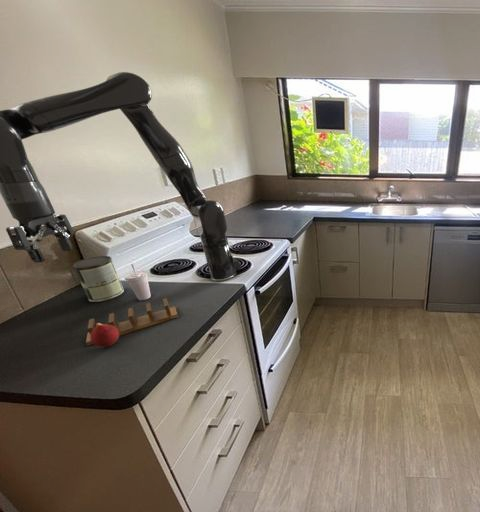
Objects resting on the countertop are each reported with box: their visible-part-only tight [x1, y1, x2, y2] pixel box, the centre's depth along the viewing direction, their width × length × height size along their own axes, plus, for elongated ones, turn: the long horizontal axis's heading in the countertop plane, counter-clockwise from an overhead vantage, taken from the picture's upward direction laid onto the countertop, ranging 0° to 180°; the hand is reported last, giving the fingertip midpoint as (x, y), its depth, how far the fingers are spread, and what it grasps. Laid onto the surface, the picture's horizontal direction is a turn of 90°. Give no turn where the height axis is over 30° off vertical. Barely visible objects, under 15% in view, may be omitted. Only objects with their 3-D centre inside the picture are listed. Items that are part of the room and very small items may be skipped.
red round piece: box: [90, 322, 120, 348], centre depth 81 cm, size 6×6×8 cm
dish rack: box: [85, 297, 179, 346], centre depth 90 cm, size 22×6×5 cm, turn 130°
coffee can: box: [71, 255, 125, 303], centre depth 107 cm, size 10×10×14 cm
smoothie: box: [124, 263, 152, 301], centre depth 105 cm, size 6×6×14 cm
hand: (54, 255), depth 81 cm, fingers open, 8 cm apart
